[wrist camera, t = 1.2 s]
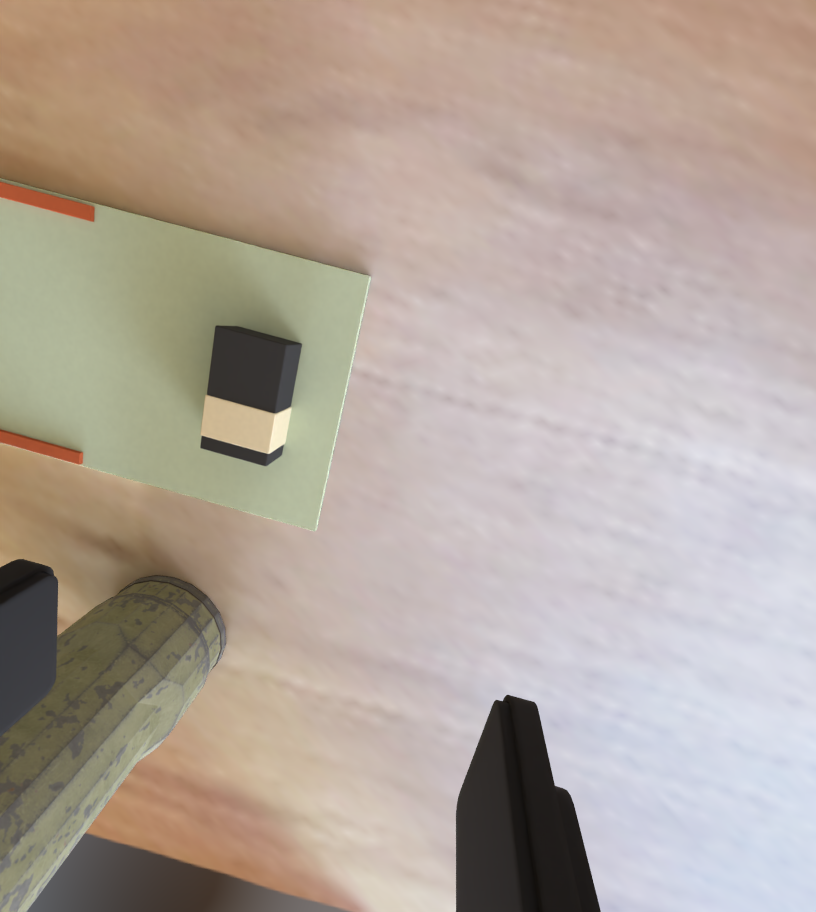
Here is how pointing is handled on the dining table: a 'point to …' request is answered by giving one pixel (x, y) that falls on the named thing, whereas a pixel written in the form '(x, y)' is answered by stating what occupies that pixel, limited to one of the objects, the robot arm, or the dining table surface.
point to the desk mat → (162, 348)
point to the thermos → (98, 722)
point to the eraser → (249, 394)
